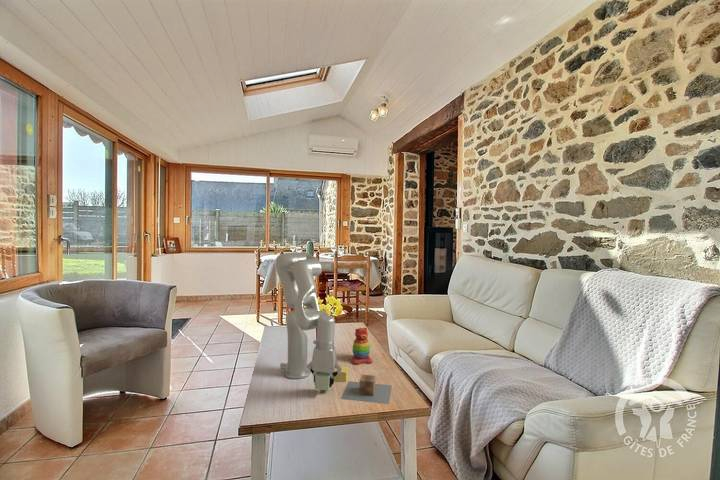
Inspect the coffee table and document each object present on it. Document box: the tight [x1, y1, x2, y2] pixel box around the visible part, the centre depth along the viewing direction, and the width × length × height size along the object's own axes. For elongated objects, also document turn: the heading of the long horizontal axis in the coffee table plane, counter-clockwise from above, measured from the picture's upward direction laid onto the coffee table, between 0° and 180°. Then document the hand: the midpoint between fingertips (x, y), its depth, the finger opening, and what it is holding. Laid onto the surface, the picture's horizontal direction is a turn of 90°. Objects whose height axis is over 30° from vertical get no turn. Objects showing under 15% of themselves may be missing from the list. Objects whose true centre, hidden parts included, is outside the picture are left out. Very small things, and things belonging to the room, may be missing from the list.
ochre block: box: [334, 365, 350, 383], centre depth 157 cm, size 6×6×6 cm
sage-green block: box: [314, 372, 331, 392], centre depth 146 cm, size 6×6×6 cm
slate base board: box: [340, 380, 393, 405], centre depth 145 cm, size 20×16×2 cm
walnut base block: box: [359, 374, 376, 396], centre depth 145 cm, size 6×6×6 cm
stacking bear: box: [351, 327, 373, 366], centre depth 182 cm, size 11×10×18 cm
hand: (323, 384), depth 146 cm, fingers closed on sage-green block, 6 cm apart
